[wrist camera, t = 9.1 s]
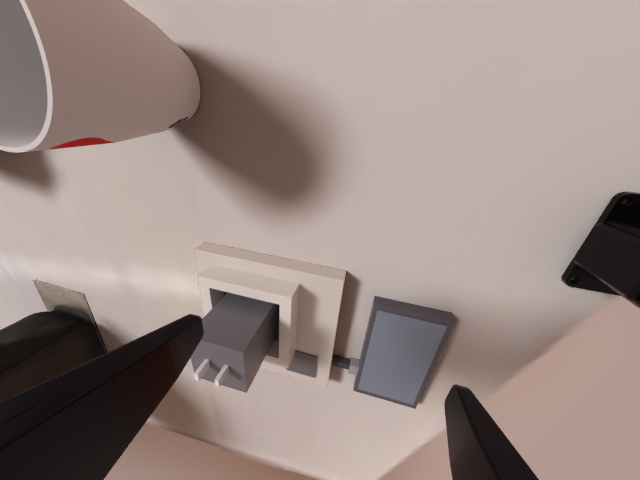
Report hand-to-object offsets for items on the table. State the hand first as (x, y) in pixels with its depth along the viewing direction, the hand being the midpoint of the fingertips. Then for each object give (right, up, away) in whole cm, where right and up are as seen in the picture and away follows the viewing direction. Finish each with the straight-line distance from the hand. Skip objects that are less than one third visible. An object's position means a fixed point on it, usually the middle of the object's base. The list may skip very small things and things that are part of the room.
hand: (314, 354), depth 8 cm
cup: (-11, +16, +9) cm, 21 cm away
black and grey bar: (+3, -9, +17) cm, 19 cm away
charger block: (-6, -3, +15) cm, 16 cm away
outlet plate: (-5, -4, +17) cm, 18 cm away
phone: (+8, -7, +15) cm, 18 cm away
